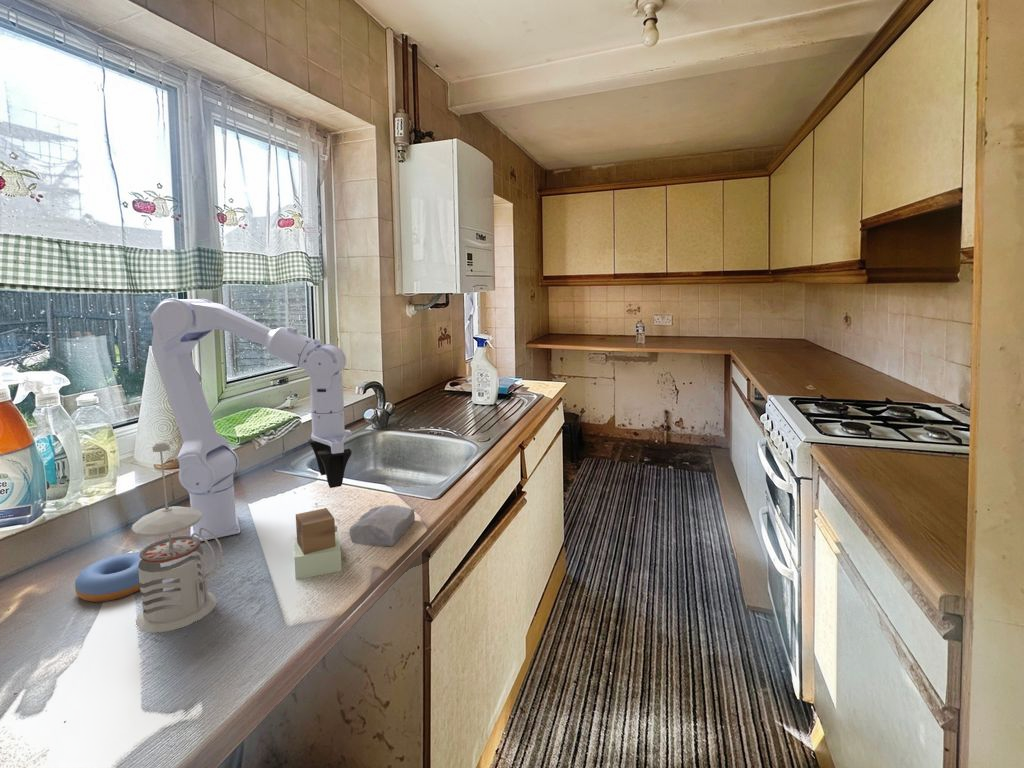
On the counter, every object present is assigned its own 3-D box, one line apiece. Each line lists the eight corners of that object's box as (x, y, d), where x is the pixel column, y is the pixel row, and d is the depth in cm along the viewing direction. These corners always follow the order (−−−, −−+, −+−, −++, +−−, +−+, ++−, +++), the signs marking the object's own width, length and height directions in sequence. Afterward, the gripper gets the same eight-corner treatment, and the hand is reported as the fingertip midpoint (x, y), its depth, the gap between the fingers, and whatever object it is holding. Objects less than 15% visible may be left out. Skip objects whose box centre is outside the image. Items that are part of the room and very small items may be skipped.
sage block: (296, 559, 86) (295, 538, 86) (339, 552, 89) (338, 531, 88) (295, 580, 80) (294, 557, 79) (341, 572, 83) (340, 550, 82)
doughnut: (140, 600, 73) (136, 570, 73) (60, 612, 71) (56, 581, 71) (169, 571, 83) (166, 544, 83) (100, 581, 81) (96, 553, 81)
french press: (168, 589, 77) (151, 431, 72) (242, 592, 76) (230, 433, 72) (116, 631, 67) (93, 451, 63) (201, 634, 67) (184, 454, 62)
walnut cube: (297, 542, 84) (295, 514, 84) (327, 535, 87) (326, 507, 86) (303, 554, 80) (302, 525, 80) (335, 546, 83) (334, 518, 82)
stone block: (346, 553, 92) (396, 548, 90) (341, 528, 92) (391, 523, 90) (374, 527, 104) (419, 522, 102) (370, 505, 104) (415, 500, 102)
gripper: (360, 415, 89) (362, 488, 91) (340, 401, 101) (343, 465, 103) (318, 420, 85) (321, 495, 87) (303, 404, 97) (306, 471, 99)
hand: (330, 480), depth 95 cm, fingers open, 7 cm apart
